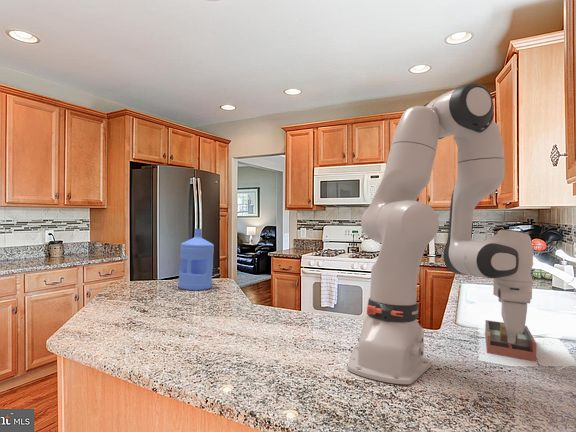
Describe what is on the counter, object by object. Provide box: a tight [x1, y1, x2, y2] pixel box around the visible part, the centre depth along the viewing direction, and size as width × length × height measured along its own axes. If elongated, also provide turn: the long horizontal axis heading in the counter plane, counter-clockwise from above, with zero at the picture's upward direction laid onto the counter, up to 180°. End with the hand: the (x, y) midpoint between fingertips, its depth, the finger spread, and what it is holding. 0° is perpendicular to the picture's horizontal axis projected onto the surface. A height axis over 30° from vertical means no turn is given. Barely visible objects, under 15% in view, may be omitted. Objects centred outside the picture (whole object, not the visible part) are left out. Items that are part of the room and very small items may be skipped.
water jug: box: [177, 228, 215, 291], centre depth 172 cm, size 16×16×28 cm
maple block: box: [500, 323, 518, 343], centre depth 103 cm, size 4×4×4 cm
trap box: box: [484, 319, 538, 362], centre depth 104 cm, size 20×11×4 cm, turn 153°
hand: (510, 342), depth 97 cm, fingers closed
